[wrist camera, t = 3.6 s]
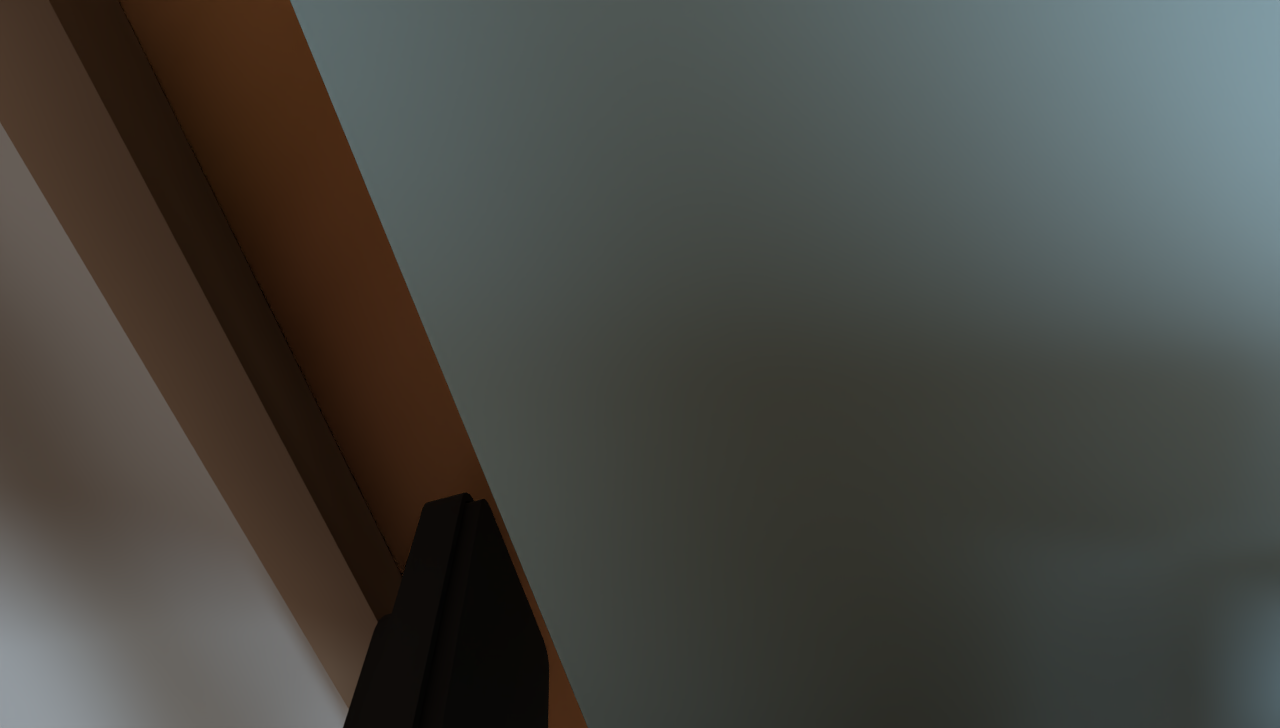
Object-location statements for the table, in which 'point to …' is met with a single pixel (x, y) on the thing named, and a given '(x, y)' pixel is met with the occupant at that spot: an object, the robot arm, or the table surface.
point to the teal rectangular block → (855, 342)
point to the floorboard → (154, 425)
